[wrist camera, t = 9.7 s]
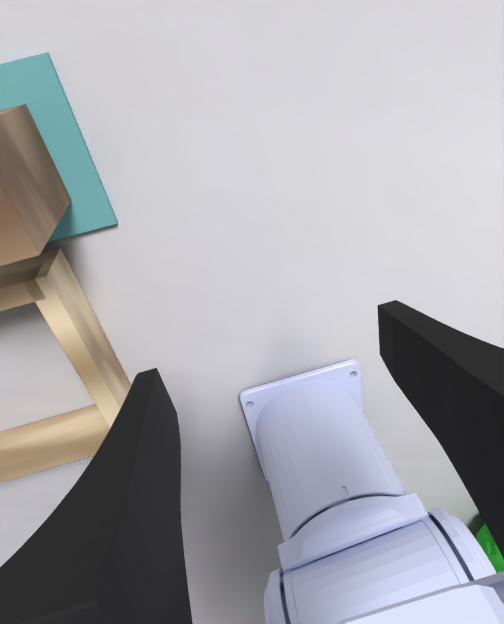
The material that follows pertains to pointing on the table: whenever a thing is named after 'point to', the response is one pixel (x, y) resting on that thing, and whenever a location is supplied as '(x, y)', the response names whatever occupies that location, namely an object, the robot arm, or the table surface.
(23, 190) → the walnut block
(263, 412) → the robot arm
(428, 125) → the table surface
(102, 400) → the open wooden frame
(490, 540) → the brain model
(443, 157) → the table surface
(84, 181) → the mat
